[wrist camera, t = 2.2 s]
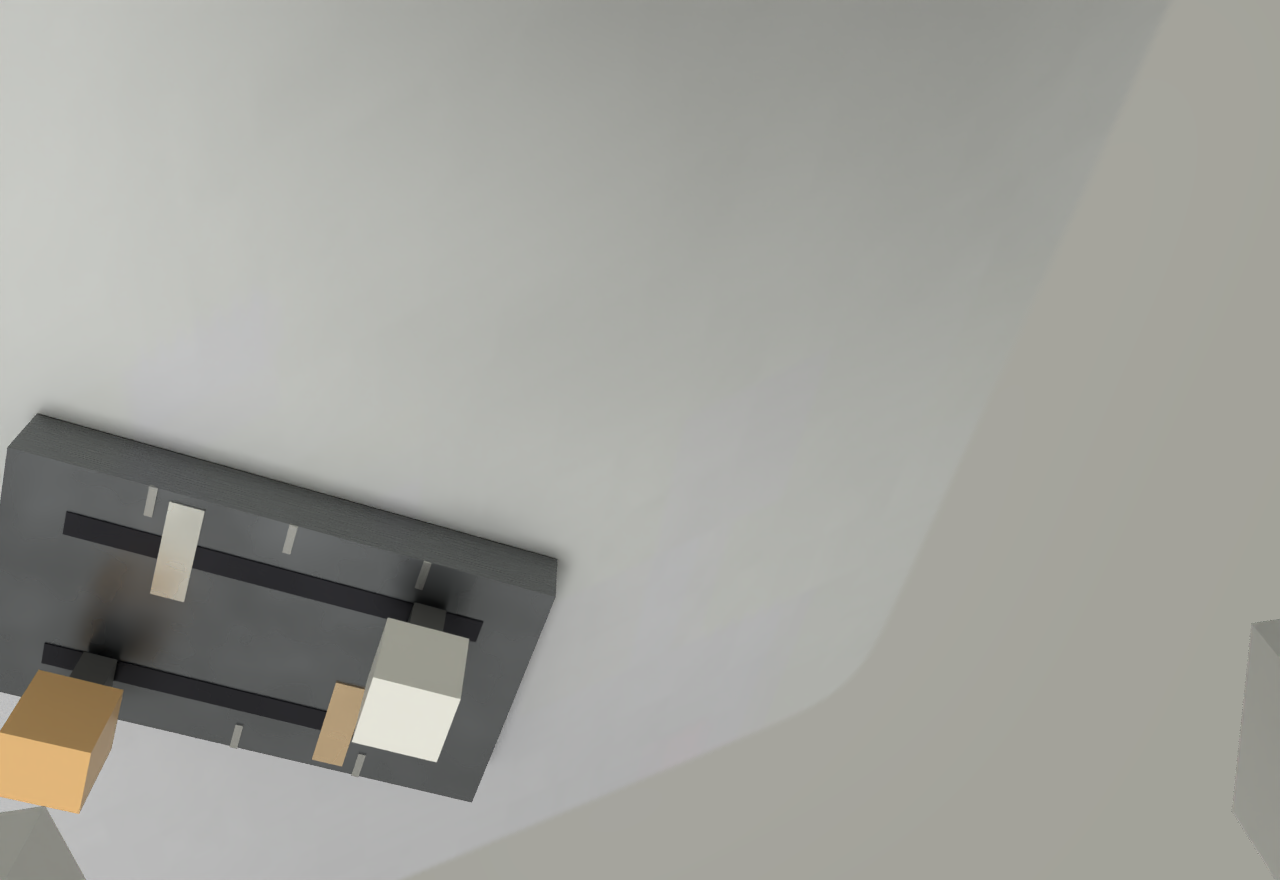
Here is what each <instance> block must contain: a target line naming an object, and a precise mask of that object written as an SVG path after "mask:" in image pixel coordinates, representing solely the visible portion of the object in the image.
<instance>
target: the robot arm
mask: <svg viewBox="0 0 1280 880" xmlns="http://www.w3.org/2000/svg"><path fill="white" fill-rule="evenodd" d="M1232 813H1233V814H1234V816H1235V817H1236V819H1237V821H1238V822H1239V824H1240V825H1241V827H1242V829H1243V830H1244V831H1245V833H1246V835H1247V836H1248V838H1249V840H1250V841H1251V843H1252V844H1253V846H1254V847H1255V849H1256V850H1257V852H1258V854H1259V855H1260V857H1261V859H1262V860H1263V862H1264V863H1265V865H1266V866H1267V868H1268V869H1269V871H1270V873H1271V874H1272V876H1273V877H1274V879H1275V880H1280V619H1277V620H1270V621H1263V622H1257V623H1252V624H1251V634H1250V643H1249V652H1248V663H1247V672H1246V681H1245V690H1244V700H1243V709H1242V719H1241V729H1240V739H1239V748H1238V758H1237V767H1236V776H1235V786H1234V796H1233V805H1232ZM0 880H86V879H85V877H84V875H83V873H82V872H81V870H80V868H79V866H78V864H77V863H76V861H75V859H74V857H73V855H72V854H71V852H70V850H69V848H68V846H67V845H66V843H65V841H64V839H63V837H62V836H61V834H60V832H59V830H58V828H57V827H56V825H55V823H54V821H53V819H52V818H51V816H50V814H49V812H48V810H47V809H46V807H45V806H41V807H35V808H28V809H22V810H15V811H8V812H2V813H0Z"/></svg>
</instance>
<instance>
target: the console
mask: <svg viewBox="0 0 1280 880" xmlns="http://www.w3.org/2000/svg"><path fill="white" fill-rule="evenodd" d="M556 572H557V559H553V558H550V557H546V556H543V555H539V554H535V553H532V552H528V551H525V550H521V549H518V548H514V547H510V546H507V545H503V544H500V543H496V542H493V541H489V540H485V539H482V538H478V537H475V536H471V535H468V534H464V533H460V532H457V531H453V530H450V529H446V528H443V527H439V526H435V525H432V524H428V523H425V522H421V521H418V520H414V519H410V518H407V517H403V516H400V515H396V514H393V513H389V512H385V511H382V510H378V509H375V508H371V507H368V506H364V505H360V504H357V503H353V502H350V501H346V500H343V499H339V498H335V497H332V496H328V495H325V494H321V493H318V492H314V491H310V490H307V489H303V488H300V487H296V486H293V485H289V484H285V483H282V482H278V481H275V480H271V479H268V478H264V477H260V476H257V475H253V474H250V473H246V472H243V471H239V470H235V469H232V468H228V467H225V466H221V465H218V464H214V463H210V462H207V461H203V460H200V459H196V458H193V457H189V456H185V455H182V454H178V453H175V452H171V451H168V450H164V449H160V448H157V447H153V446H150V445H146V444H143V443H139V442H135V441H132V440H128V439H125V438H121V437H118V436H114V435H110V434H107V433H103V432H100V431H96V430H93V429H89V428H86V427H82V426H78V425H75V424H71V423H68V422H64V421H61V420H57V419H53V418H50V417H46V416H43V415H39V414H36V416H35V417H34V418H33V419H32V420H31V421H30V422H29V423H28V425H27V426H26V427H25V428H24V429H23V430H22V431H21V433H20V434H19V435H18V436H17V437H16V438H15V439H14V440H13V442H12V443H11V444H10V445H9V446H8V448H7V455H6V463H5V470H4V478H3V485H2V493H1V500H0V692H3V693H7V694H12V695H16V696H20V697H22V695H23V694H24V692H25V691H26V689H27V687H28V686H29V684H30V683H31V681H32V679H33V678H34V676H35V675H36V673H37V671H38V670H42V671H46V672H51V673H55V674H59V675H63V676H67V677H69V676H70V675H71V673H72V671H73V669H74V668H75V666H76V664H77V663H78V661H79V659H80V658H81V656H82V654H83V652H88V653H92V654H96V655H100V656H104V657H108V658H112V659H116V660H117V665H116V670H115V675H114V680H113V685H112V687H113V688H118V689H122V690H124V691H123V696H122V701H121V705H120V710H119V715H118V720H122V721H127V722H131V723H135V724H140V725H144V726H148V727H152V728H157V729H161V730H165V731H169V732H174V733H178V734H182V735H186V736H191V737H195V738H199V739H204V740H208V741H212V742H216V743H221V744H225V745H229V746H230V747H232V748H236V749H237V747H238V748H242V749H246V750H250V751H255V752H259V753H263V754H268V755H272V756H276V757H280V758H285V759H289V760H293V761H297V762H302V763H306V764H310V765H314V766H319V767H323V768H327V769H331V770H336V771H340V772H344V773H349V774H351V776H355V777H359V776H361V777H366V778H370V779H374V780H378V781H383V782H387V783H391V784H395V785H400V786H404V787H408V788H413V789H417V790H421V791H425V792H430V793H434V794H438V795H442V796H447V797H451V798H455V799H459V800H464V801H468V802H472V801H473V798H474V796H475V793H476V791H477V788H478V786H479V783H480V781H481V779H482V776H483V774H484V771H485V769H486V766H487V764H488V761H489V759H490V756H491V754H492V752H493V749H494V747H495V744H496V742H497V739H498V737H499V734H500V732H501V729H502V727H503V724H504V722H505V720H506V717H507V715H508V712H509V710H510V707H511V705H512V702H513V700H514V697H515V695H516V693H517V690H518V688H519V685H520V683H521V680H522V678H523V675H524V673H525V670H526V668H527V666H528V663H529V661H530V658H531V656H532V653H533V651H534V648H535V646H536V643H537V641H538V639H539V636H540V634H541V631H542V629H543V626H544V624H545V621H546V619H547V616H548V614H549V611H550V609H551V607H552V604H553V602H554V599H555V596H556ZM414 602H416V603H420V604H423V605H427V606H431V607H435V608H438V609H442V610H446V617H445V623H444V628H443V632H445V633H449V634H453V635H457V636H460V637H464V638H468V639H469V644H468V651H467V658H466V665H465V672H464V679H463V686H462V693H461V700H460V702H459V705H458V707H457V710H456V713H455V715H454V718H453V721H452V723H451V726H450V728H449V731H448V734H447V736H446V739H445V742H444V744H443V747H442V750H441V752H440V755H439V757H438V760H437V762H433V761H429V760H425V759H420V758H416V757H412V756H408V755H404V754H400V753H395V752H391V751H387V750H383V749H379V748H375V747H370V746H366V745H362V744H358V743H354V742H352V739H353V735H354V731H355V727H356V723H357V719H358V715H359V711H360V707H361V703H362V699H363V695H364V691H365V687H366V683H367V679H368V676H369V673H370V670H371V667H372V664H373V661H374V658H375V655H376V652H377V649H378V646H379V643H380V640H381V637H382V634H383V631H384V627H385V624H386V621H387V618H392V619H396V620H399V621H403V622H408V620H409V617H410V614H411V611H412V608H413V605H414Z"/></svg>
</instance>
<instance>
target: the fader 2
mask: <svg viewBox="0 0 1280 880" xmlns="http://www.w3.org/2000/svg"><path fill="white" fill-rule="evenodd" d="M445 617H446V610H442V609H438V608H435V607H431V606H427V605H423V604H420V603H416V602H414V605H413V608H412V611H411V614H410V617H409V620H408V622H403V621H399V620H396V619H392V618H387V621H386V624H385V627H384V631H383V634H382V637H381V640H380V643H379V646H378V649H377V652H376V655H375V658H374V661H373V664H372V667H371V670H370V673H369V676H368V679H367V683H366V687H365V691H364V695H363V699H362V703H361V707H360V711H359V715H358V719H357V723H356V727H355V731H354V735H353V739H352V742H354V743H358V744H362V745H366V746H370V747H375V748H379V749H383V750H387V751H391V752H395V753H400V754H404V755H408V756H412V757H416V758H420V759H425V760H429V761H433V762H437V760H438V757H439V755H440V752H441V750H442V747H443V744H444V742H445V739H446V736H447V734H448V731H449V728H450V726H451V723H452V721H453V718H454V715H455V713H456V710H457V707H458V705H459V702H460V700H461V693H462V686H463V679H464V672H465V665H466V658H467V651H468V644H469V639H468V638H464V637H460V636H457V635H453V634H449V633H445V632H443V628H444V623H445Z"/></svg>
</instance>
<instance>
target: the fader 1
mask: <svg viewBox="0 0 1280 880" xmlns="http://www.w3.org/2000/svg"><path fill="white" fill-rule="evenodd" d="M116 665H117V660H116V659H112V658H108V657H104V656H100V655H96V654H92V653H88V652H83V654H82V656H81V658H80V659H79V661H78V663H77V664H76V666H75V668H74V669H73V671H72V673H71V675H70V676H69V677H67V676H63V675H59V674H55V673H51V672H46V671H42V670H38V671H37V673H36V675H35V676H34V678H33V679H32V681H31V683H30V684H29V686H28V687H27V689H26V691H25V692H24V694H23V695H22V697H21V699H20V700H19V702H18V703H17V705H16V707H15V708H14V710H13V711H12V713H11V715H10V716H9V718H8V719H7V721H6V723H5V724H4V726H3V727H2V729H1V730H0V797H4V798H8V799H13V800H18V801H22V802H27V803H31V804H36V805H41V806H45V807H50V808H54V809H59V810H63V811H68V812H73V813H77V814H79V813H80V811H81V809H82V807H83V805H84V803H85V801H86V799H87V797H88V795H89V793H90V791H91V789H92V787H93V785H94V783H95V781H96V779H97V777H98V775H99V773H100V771H101V769H102V767H103V765H104V763H105V761H106V759H107V757H108V755H109V753H110V751H111V748H112V744H113V739H114V734H115V729H116V724H117V720H118V715H119V710H120V705H121V701H122V696H123V691H124V690H122V689H118V688H113V687H112V685H113V680H114V675H115V670H116Z"/></svg>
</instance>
